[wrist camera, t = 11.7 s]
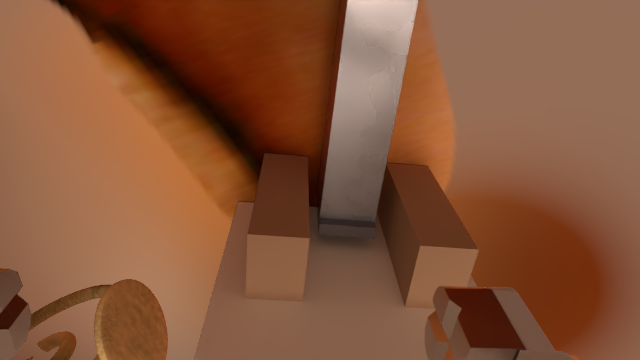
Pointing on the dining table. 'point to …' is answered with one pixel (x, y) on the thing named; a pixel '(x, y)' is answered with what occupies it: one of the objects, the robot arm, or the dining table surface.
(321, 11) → the dining table surface
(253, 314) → the slab with twin posts
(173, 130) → the dining table surface
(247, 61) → the dining table surface
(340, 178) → the rail
